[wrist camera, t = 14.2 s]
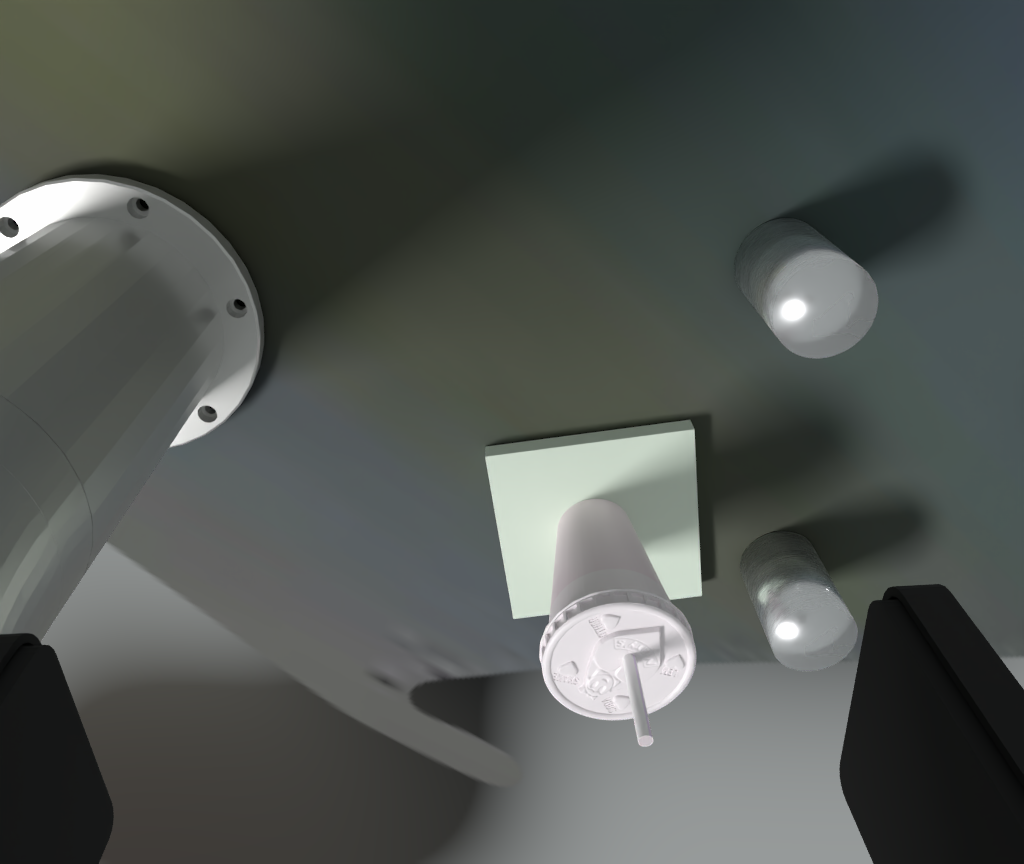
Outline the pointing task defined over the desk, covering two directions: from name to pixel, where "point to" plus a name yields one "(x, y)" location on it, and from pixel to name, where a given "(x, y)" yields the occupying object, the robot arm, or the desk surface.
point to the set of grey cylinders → (813, 334)
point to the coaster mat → (597, 475)
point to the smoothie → (612, 623)
